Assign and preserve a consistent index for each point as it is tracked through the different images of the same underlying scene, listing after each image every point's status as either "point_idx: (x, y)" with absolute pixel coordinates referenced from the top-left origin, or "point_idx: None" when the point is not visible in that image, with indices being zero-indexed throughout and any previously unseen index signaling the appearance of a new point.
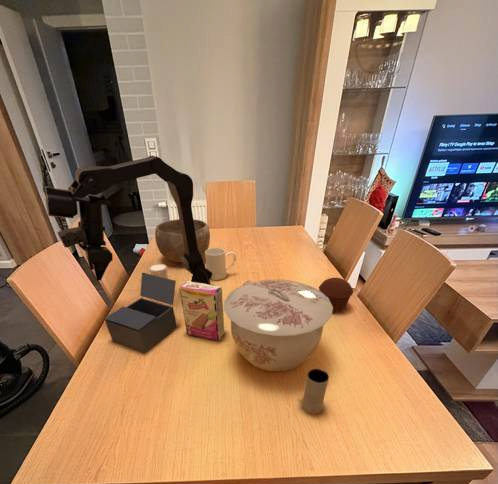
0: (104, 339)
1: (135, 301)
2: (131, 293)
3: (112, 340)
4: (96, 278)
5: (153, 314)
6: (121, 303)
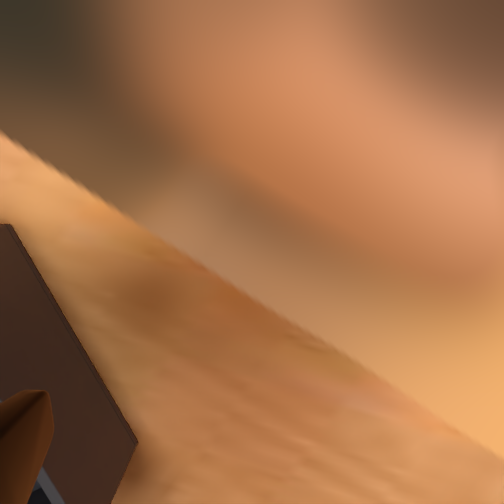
0: (52, 193)
1: (56, 496)
2: (451, 457)
3: (5, 224)
4: (4, 404)
5: (49, 500)
6: (371, 375)
